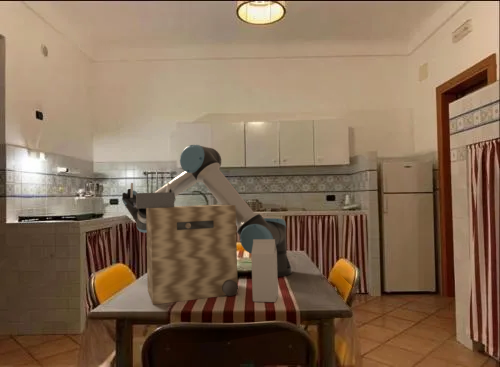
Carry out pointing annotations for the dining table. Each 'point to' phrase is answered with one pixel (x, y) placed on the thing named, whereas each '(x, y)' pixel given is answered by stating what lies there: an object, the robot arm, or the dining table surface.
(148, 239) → the zigzag patterned box
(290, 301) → the dining table surface
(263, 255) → the milk carton
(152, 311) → the dining table surface
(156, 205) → the t handle
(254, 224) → the robot arm
